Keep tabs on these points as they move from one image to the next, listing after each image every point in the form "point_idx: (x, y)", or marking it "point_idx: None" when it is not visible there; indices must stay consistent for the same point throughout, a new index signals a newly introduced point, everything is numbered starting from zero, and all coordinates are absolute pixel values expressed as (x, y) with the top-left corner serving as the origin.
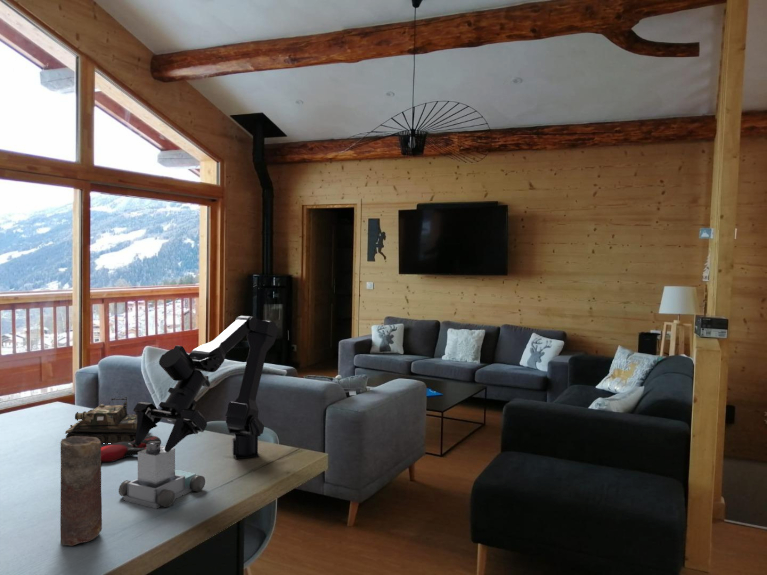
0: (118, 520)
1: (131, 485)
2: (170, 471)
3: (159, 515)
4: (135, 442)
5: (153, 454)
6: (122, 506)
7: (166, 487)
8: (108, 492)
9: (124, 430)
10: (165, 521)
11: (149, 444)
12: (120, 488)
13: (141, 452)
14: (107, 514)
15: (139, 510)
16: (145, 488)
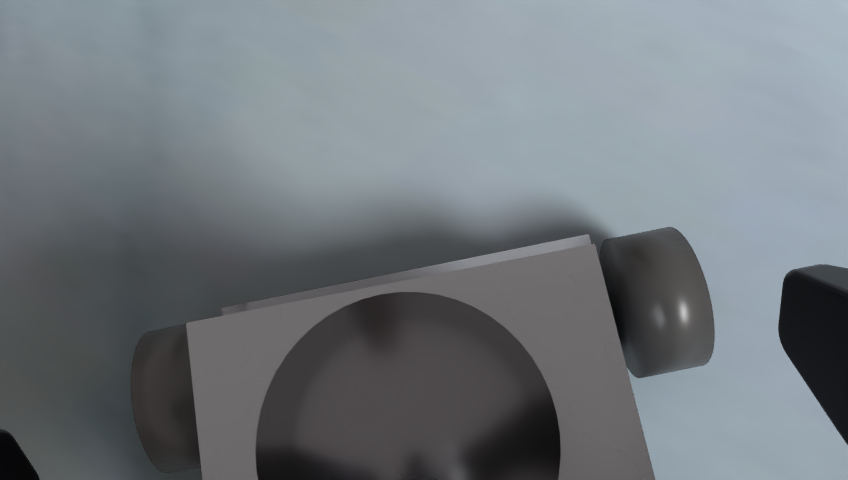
0: (291, 58)
1: (526, 247)
2: None
3: (125, 267)
4: (829, 272)
5: (270, 341)
6: (482, 188)
7: None
8: (838, 262)
9: None
10: (11, 237)
11: (369, 318)
12: (652, 230)
13: (524, 270)
14: (437, 59)
15: (317, 226)
16: (350, 285)
